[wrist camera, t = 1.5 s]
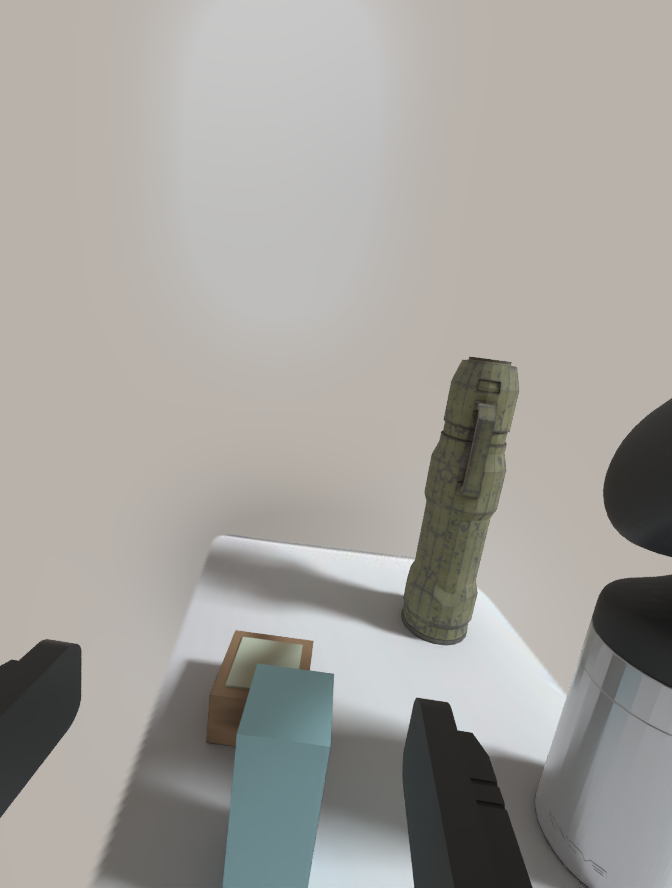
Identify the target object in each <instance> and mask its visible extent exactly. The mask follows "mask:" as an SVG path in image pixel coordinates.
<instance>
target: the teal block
mask: <svg viewBox="0 0 672 888" xmlns="http://www.w3.org/2000/svg"><path fill="white" fill-rule="evenodd" d="M333 684H334V674H331V673H324V672H316V671H309V670H302V669H294V668H287V667H280V666H272V665H265V664H258V663H257V666H256V670H255V673H254V677H253V680H252V683H251V687H250V690H249V694H248V697H247V701H246V704H245V708H244V711H243V715H242V718H241V721H240V725H239V728H238V732H237V738H236V749H235V759H234V770H233V781H232V791H231V802H230V813H229V823H228V834H227V845H226V856H225V866H224V877H223V888H308V883H309V876H310V870H311V864H312V858H313V852H314V845H315V839H316V833H317V827H318V821H319V815H320V808H321V802H322V796H323V790H324V784H325V777H326V771H327V765H328V759H329V753H330V746H331V725H332V705H333Z"/></svg>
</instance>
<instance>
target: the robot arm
mask: <svg viewBox="0 0 672 888" xmlns="http://www.w3.org/2000/svg"><path fill="white" fill-rule="evenodd" d="M603 497H604V504H605V509H606V512H607V515H608V518H609V520H610V521H611V523H612V525H613V527H614V528H615V529H616V530H617V531H618V532H619V533H620V534H621V535H622V536H623V537H625V538H626V539H627V540H629V541H630V542H632V543H634V544H636V545H638V546H640V547H643V548H645V549H648V550H650V551H653V552H656V553H658V554H662V555H666V556H670V557H672V399H670V400H669V401H667V402H666V403H664V404H663V405H662V406H660V407H659V408H657V409H655V410H654V411H653V412H651V413H650V414H649V415H647V416H646V417H645V418H644V419H643V420H642V421H641V422H640V423H639V424H638V425H636V426H635V427H634V429H632V431H631V432H630V433H629V434H628V435H627V437H626V438H625V439H624V440H623V442H622V443H621V445H620V446H619V448H618V449H617V451H616V453H615V455H614V457H613V459H612V460H611V463H610V465H609V468H608V471H607V473H606V477H605V482H604V489H603ZM80 701H81V647H80V646H79V645H78V644H74V643H68V642H61V641H55V640H48V639H46V640H43V641H41V642H39V643H38V644H37V645H36V646H35V647H33V649H31V650H30V651H29V652H28V653H27V654H26V655H25V656H24V657H22V658H21V659H20V660H19V661H17V660H10V661H9V662H7V663H5V664H3V665H1V666H0V818H1V816H2V815H3V814H4V812H5V811H6V810H7V808H8V807H9V806H10V804H11V803H12V802H13V801H14V799H15V798H16V797H17V795H18V794H19V793H20V792H21V790H22V789H23V788H24V786H25V785H26V784H27V782H28V781H29V780H30V779H31V777H32V776H33V775H34V773H35V772H36V771H37V769H38V768H39V767H40V765H41V764H42V763H43V762H44V760H45V759H46V758H47V756H48V755H49V754H50V753H51V751H52V750H53V749H54V747H55V746H56V745H57V743H58V742H59V741H60V740H61V738H62V737H63V736H64V734H65V733H66V732H67V730H68V729H69V728H70V726H71V724H72V722H73V721H74V719H75V717H76V714H77V712H78V709H79V706H80ZM403 788H404V797H405V806H406V815H407V824H408V834H409V843H410V852H411V861H412V870H413V879H414V888H532V885H531V882H530V879H529V876H528V873H527V870H526V867H525V864H524V861H523V858H522V855H521V852H520V849H519V846H518V843H517V840H516V837H515V834H514V831H513V828H512V825H511V822H510V819H509V816H508V813H507V810H505V804H504V801H503V798H502V795H501V792H500V789H499V787H498V786H497V780H496V777H495V774H494V770H493V767H492V764H491V761H490V758H489V756H488V754H487V753H486V752H485V750H484V749H483V747H482V746H481V744H480V743H479V742H478V740H477V739H476V737H475V736H474V735H473V733H470V732H464V731H457V727H456V724H455V720H454V716H453V713H452V709H451V706H450V704H449V703H448V702H442V701H435V700H429V699H422V698H416V699H415V702H414V705H413V710H412V715H411V719H410V724H409V729H408V734H407V738H406V743H405V748H404V754H403ZM535 808H536V812H537V817H538V821H539V823H540V826H541V828H542V830H543V833H544V835H545V837H546V839H547V840H548V842H549V844H550V845H551V847H552V849H553V850H554V852H555V853H556V854H557V856H558V857H559V858H560V859H561V861H562V862H563V863H564V865H565V866H566V867H567V868H568V869H569V870H570V871H571V872H572V873H573V874H574V875H575V876H576V877H577V878H578V879H579V880H580V881H581V882H583V883H584V884H585V885H586V886H587V887H589V888H672V575H666V576H658V577H643V578H642V577H641V578H626V579H620V580H616V581H613V582H611V583H609V584H608V585H606V586H605V587H604V589H603V590H602V591H601V593H600V595H599V598H598V600H597V603H596V606H595V610H594V613H593V616H592V619H591V622H590V625H589V628H588V631H587V635H586V638H585V641H584V644H583V647H582V650H581V654H580V657H579V660H578V664H577V667H576V670H575V673H574V676H573V679H572V682H571V686H570V689H569V692H568V695H567V698H566V701H565V704H564V707H563V711H562V714H561V717H560V720H559V723H558V726H557V729H556V732H555V736H554V739H553V742H552V745H551V748H550V751H549V754H548V757H547V760H546V763H545V766H544V770H543V773H542V776H541V779H540V782H539V785H538V789H537V793H536V796H535Z"/></svg>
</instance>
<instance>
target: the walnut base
mask: <svg viewBox="0 0 672 888" xmlns="http://www.w3.org/2000/svg"><path fill="white" fill-rule="evenodd" d="M312 648H313V641H310V640H302V639H295V638H288V637H281V636H273V635H266V634H259V633H251V632H244V631H237V630H236V631H235V633H234V636H233V638H232V641H231V643H230V646H229V648H228V651H227V653H226V656H225V658H224V661H223V663H222V666H221V668H220V671H219V673H218V676H217V678H216V681H215V683H214V686H213V688H212V691H211V693H210V700H209V714H208V728H207V742H208V743H215V744H222V745H230V746H236V738H237V732H238V728H239V725H240V721H241V718H242V715H243V711H244V708H245V704H246V701H247V697H248V694H249V690H250V687H251V683H252V680H253V677H254V673H255V670H256V666H257V663H258V664H265V665H272V666H280V667H287V668H294V669H302V670H309V671H310V664H311V656H312Z"/></svg>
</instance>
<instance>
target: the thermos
mask: <svg viewBox="0 0 672 888" xmlns="http://www.w3.org/2000/svg"><path fill="white" fill-rule="evenodd" d="M518 394H519V382H518V372H517V367H513V366H511V362H506V361H498V360H491V359H482V358H475V357H469V360H462V362H461V364H460V366H459V367H458V369H457V371H456V373H455V375H454V377H453V379H452V381H451V385H450V391H449V396H448V401H447V406H446V411H445V416H444V420H445V425H444V430H443V431H442V432H441V436H440V441H439V443H438V444H437V446H436V448H435V450H434V451H433V453H432V456H431V461H430V466H429V471H428V477H427V482H426V487H425V496H426V501H427V502H426V507H425V512H424V518H423V522H422V527H421V533H420V538H419V543H418V548H417V553H416V558H415V561H414V562H413V564H412V565H411V567H410V571H409V574H408V577H407V582H406V587H405V593H404V607H403V610H402V620H403V622H404V624H405V626H406V627H407V628H408V629H409V630H410V631H411V632H412V633H413V634H415V635H416V636H418V637H420V638H421V639H423V640H426V641H428V642H431V643H434V644H441V645H453V644H456V643H459V642H461V641H462V640H463V639H464V638H465V637H466V633H467V626H468V622H469V621H470V620H471V618H472V614H473V609H474V605H475V601H476V597H477V586H476V577H477V572H478V568H479V564H480V560H481V555H482V551H483V547H484V543H485V539H486V534H487V530H488V526H489V522H490V518H491V516H492V515H493V514H494V512H495V511H496V510H497V506H498V502H499V498H500V494H501V490H502V485H503V481H504V477H505V473H506V463H505V449H506V442H505V440H506V436H507V432H510V427H511V423H512V419H513V415H514V411H515V406H516V402H517V398H518Z"/></svg>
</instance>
